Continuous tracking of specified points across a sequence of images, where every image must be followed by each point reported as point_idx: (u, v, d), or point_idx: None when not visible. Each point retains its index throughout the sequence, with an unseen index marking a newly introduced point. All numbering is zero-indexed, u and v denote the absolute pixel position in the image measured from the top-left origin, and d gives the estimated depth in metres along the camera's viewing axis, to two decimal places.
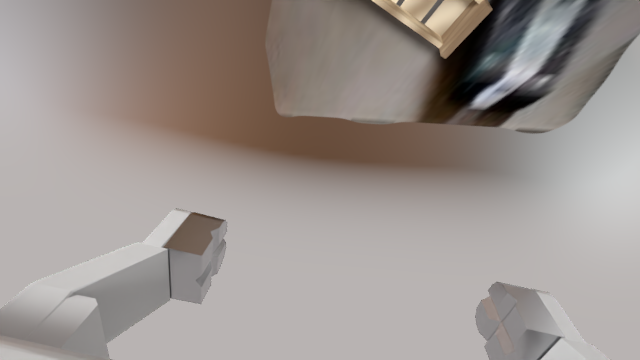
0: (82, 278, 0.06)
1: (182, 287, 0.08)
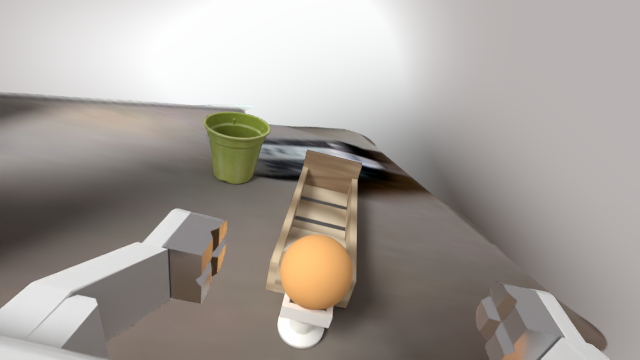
0: (82, 278, 0.06)
1: (182, 287, 0.08)
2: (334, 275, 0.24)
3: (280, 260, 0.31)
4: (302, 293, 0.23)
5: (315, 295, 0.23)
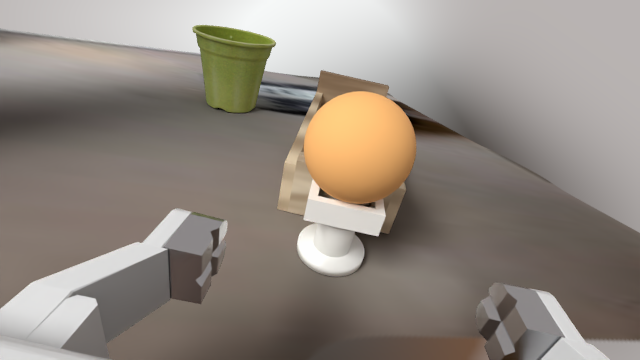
0: (82, 278, 0.06)
1: (182, 287, 0.08)
2: (396, 132, 0.15)
3: (298, 159, 0.22)
4: (344, 162, 0.14)
5: (366, 163, 0.14)
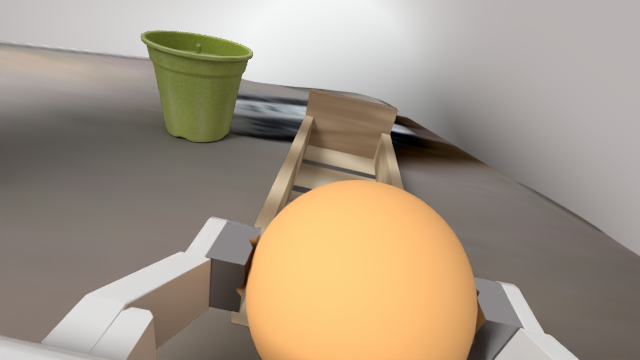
0: (134, 290, 0.06)
1: (222, 296, 0.08)
2: (445, 310, 0.06)
3: None
4: None
5: None
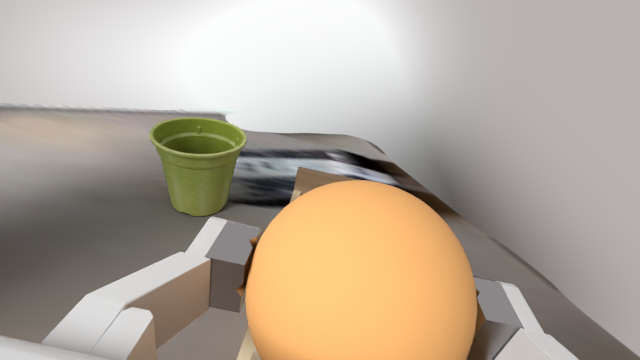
0: (134, 290, 0.06)
1: (222, 296, 0.08)
2: (445, 310, 0.06)
3: None
4: None
5: None
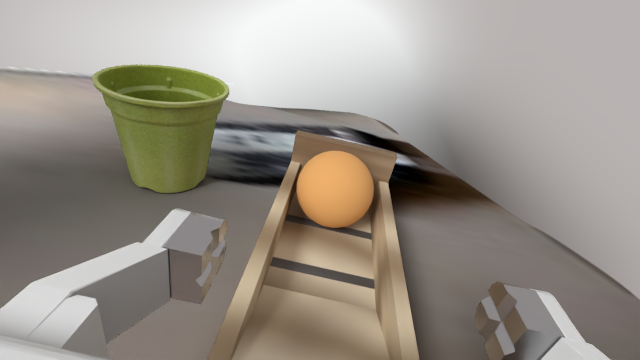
0: (82, 278, 0.06)
1: (182, 287, 0.08)
2: (349, 209, 0.22)
3: None
4: (317, 221, 0.23)
5: (330, 223, 0.23)
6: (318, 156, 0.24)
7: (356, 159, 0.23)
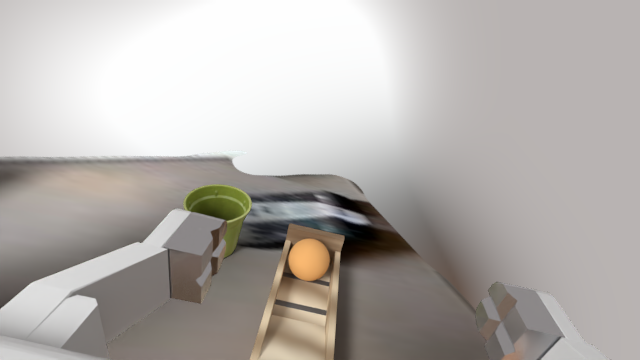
0: (82, 278, 0.06)
1: (182, 287, 0.08)
2: (315, 273, 0.43)
3: None
4: (299, 278, 0.45)
5: (305, 280, 0.44)
6: (299, 243, 0.45)
7: (319, 245, 0.45)
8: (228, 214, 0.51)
